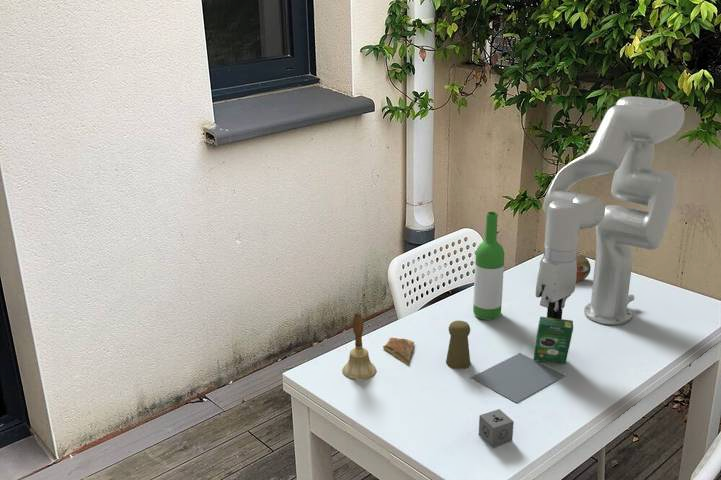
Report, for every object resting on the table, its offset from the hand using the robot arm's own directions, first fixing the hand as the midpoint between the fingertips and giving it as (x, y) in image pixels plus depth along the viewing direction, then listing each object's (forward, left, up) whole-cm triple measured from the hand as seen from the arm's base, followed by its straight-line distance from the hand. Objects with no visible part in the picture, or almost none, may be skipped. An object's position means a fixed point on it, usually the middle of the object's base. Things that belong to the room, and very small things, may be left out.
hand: (553, 322), depth 185 cm
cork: (+18, -14, -11) cm, 25 cm away
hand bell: (+39, -27, -11) cm, 49 cm away
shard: (+24, -27, -11) cm, 38 cm away
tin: (-43, -28, -11) cm, 52 cm away
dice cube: (+35, +12, -11) cm, 38 cm away
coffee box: (0, 0, -10) cm, 10 cm away
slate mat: (+12, 0, -10) cm, 16 cm away
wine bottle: (-7, -27, -11) cm, 30 cm away
